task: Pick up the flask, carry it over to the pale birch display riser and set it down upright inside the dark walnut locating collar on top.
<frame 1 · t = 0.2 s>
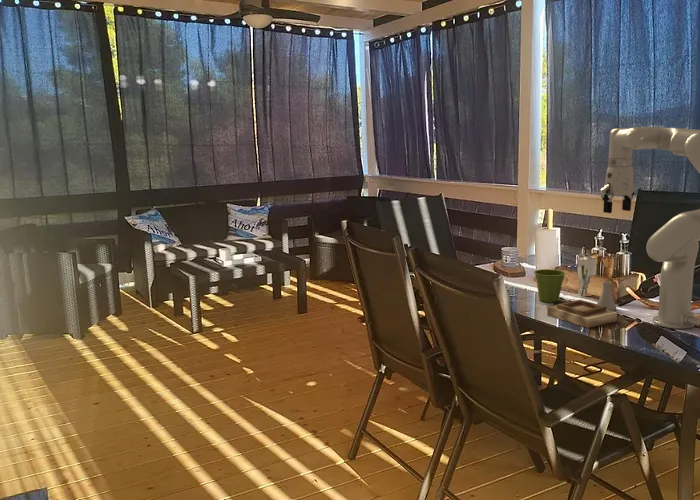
hand: (616, 211, 219), 36 cm above the table, tool pointing down, fingers open, 9 cm apart
display riser: (581, 317, 214), on the table
plant pot: (548, 300, 238), on the table
flask: (605, 309, 224), on the table
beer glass: (585, 295, 244), on the table
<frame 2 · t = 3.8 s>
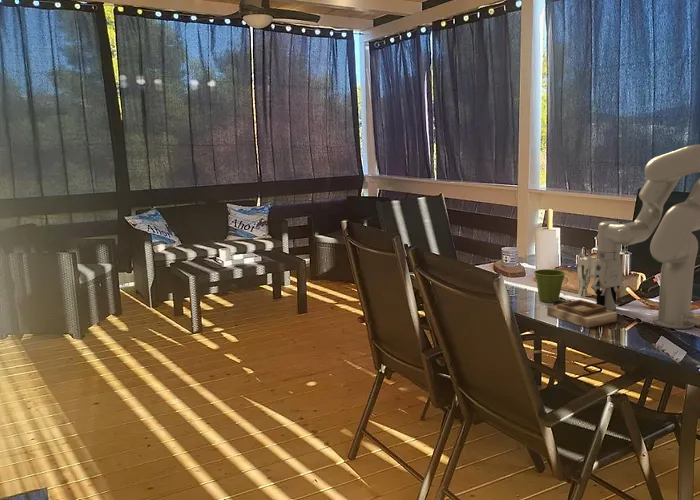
hand: (606, 303, 224), 2 cm above the table, tool pointing down, fingers closed on flask, 5 cm apart
flask: (605, 309, 224), on the table, touching gripper
everything else where it was.
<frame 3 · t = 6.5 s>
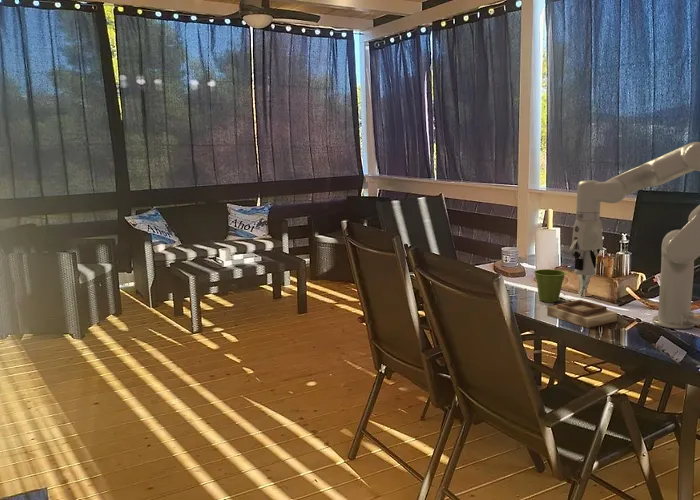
hand: (585, 268, 212), 18 cm above the table, tool pointing down, fingers closed on flask, 5 cm apart
flask: (584, 274, 213), point 15 cm above the table, touching gripper
everything else where it was.
when the fingers open (6 cm above the table, at t = 9.7 s): flask stays where it is, resting on display riser.
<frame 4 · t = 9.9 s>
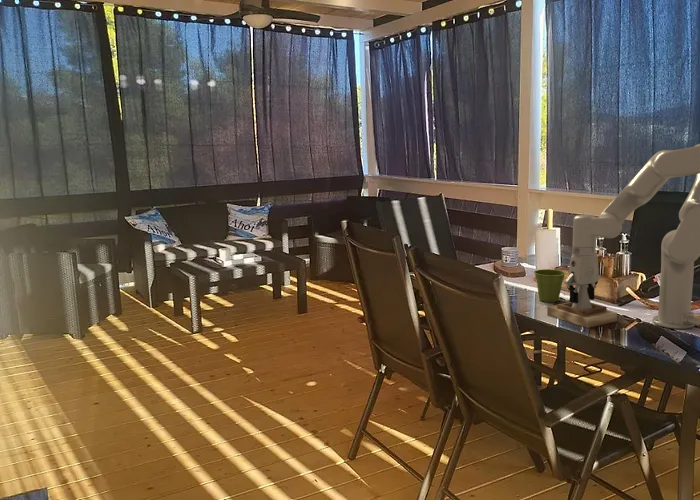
hand: (581, 300, 213), 6 cm above the table, tool pointing down, fingers open, 7 cm apart
flask: (581, 310, 214), point 3 cm above the table, touching display riser
everything else where it was.
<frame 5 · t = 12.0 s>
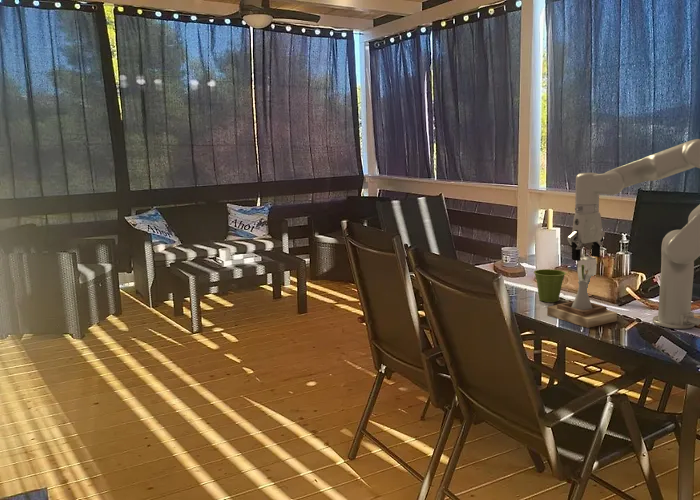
hand: (585, 258, 211), 21 cm above the table, tool pointing down, fingers open, 9 cm apart
nothing on the table moved.
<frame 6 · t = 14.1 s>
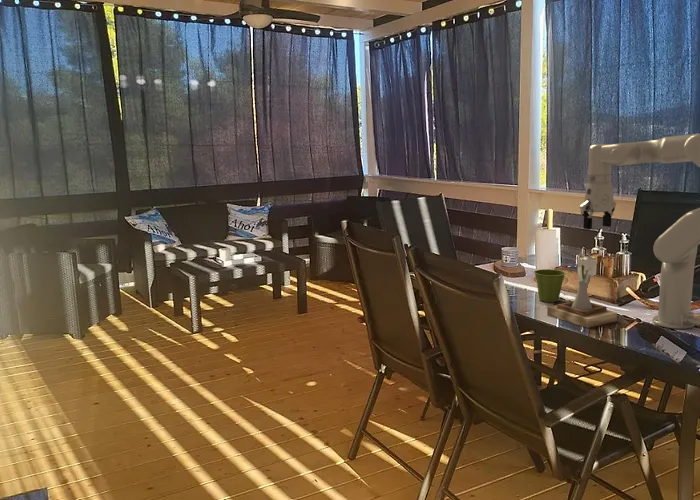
hand: (597, 227, 219), 30 cm above the table, tool pointing down, fingers open, 9 cm apart
nothing on the table moved.
at the end: flask 0.1 cm off-centre on the display riser, point 2.8 cm above the display riser's base; flask tilted 0°; the gripper is holding nothing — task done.
